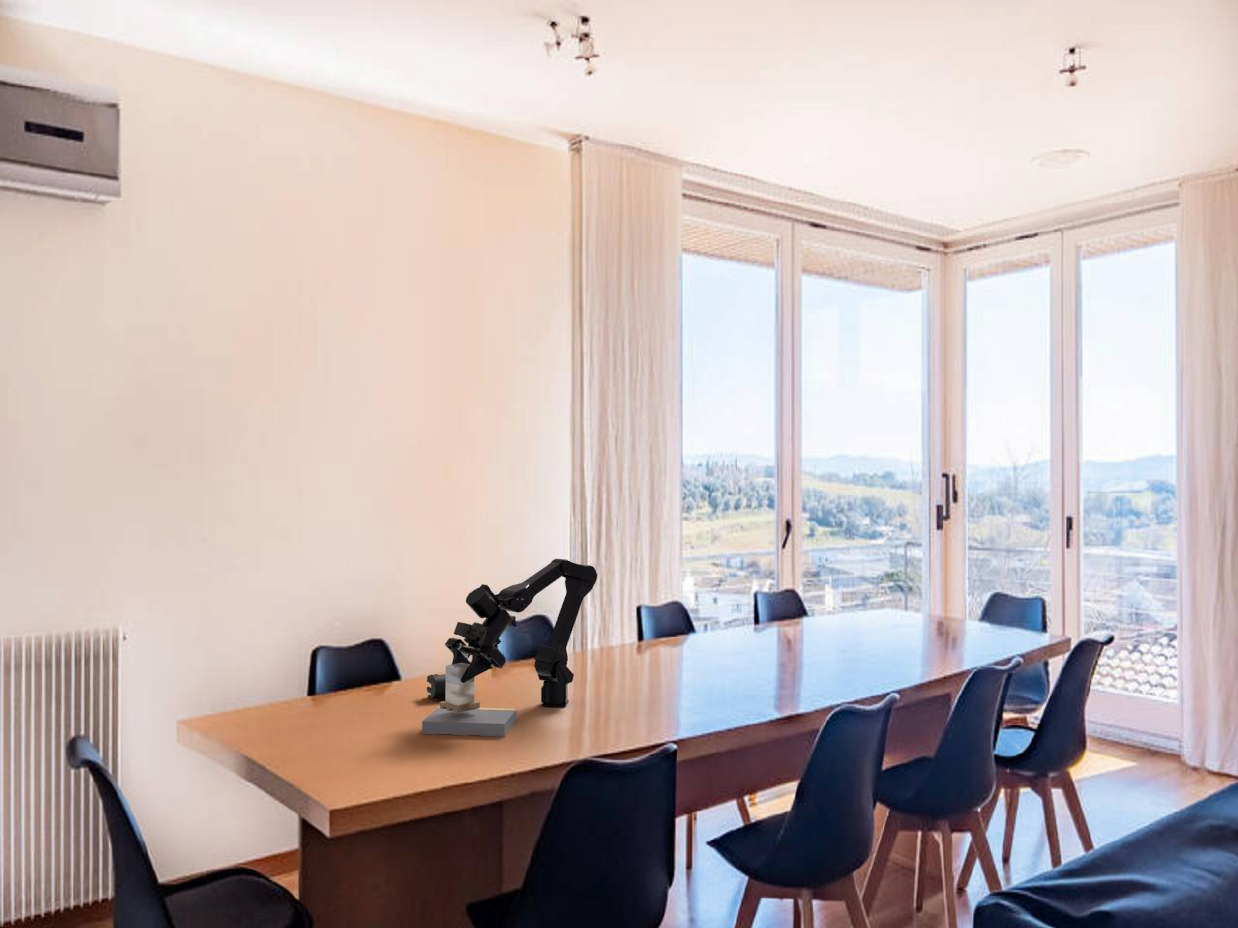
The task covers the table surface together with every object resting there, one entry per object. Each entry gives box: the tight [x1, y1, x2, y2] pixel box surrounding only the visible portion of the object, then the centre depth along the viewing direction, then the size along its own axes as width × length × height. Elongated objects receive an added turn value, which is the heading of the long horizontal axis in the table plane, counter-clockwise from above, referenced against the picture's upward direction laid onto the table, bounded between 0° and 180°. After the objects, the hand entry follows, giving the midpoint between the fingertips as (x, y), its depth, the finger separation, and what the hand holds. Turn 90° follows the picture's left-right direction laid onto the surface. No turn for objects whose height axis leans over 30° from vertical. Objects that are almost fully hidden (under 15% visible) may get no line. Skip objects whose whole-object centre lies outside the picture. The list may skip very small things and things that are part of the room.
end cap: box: [426, 673, 446, 701], centre depth 259 cm, size 10×7×7 cm
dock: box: [421, 706, 517, 738], centre depth 228 cm, size 20×14×3 cm
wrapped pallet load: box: [439, 663, 481, 713], centre depth 229 cm, size 7×7×10 cm
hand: (455, 680), depth 228 cm, fingers closed on wrapped pallet load, 5 cm apart
